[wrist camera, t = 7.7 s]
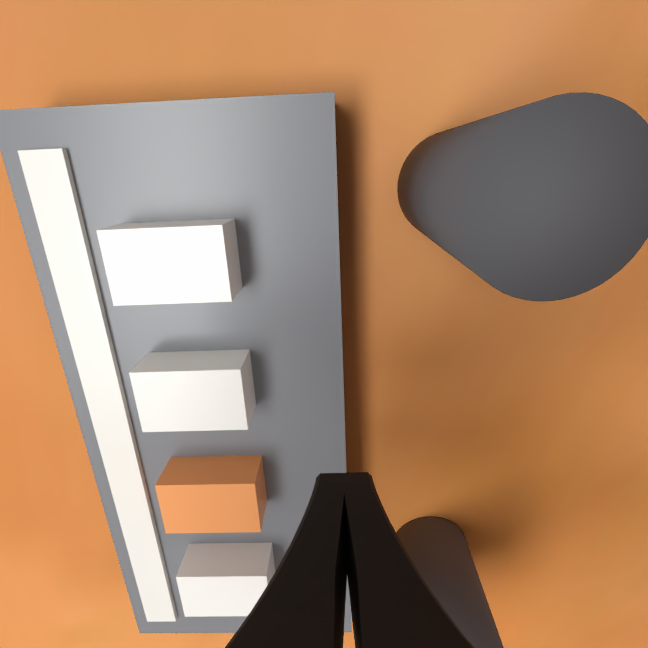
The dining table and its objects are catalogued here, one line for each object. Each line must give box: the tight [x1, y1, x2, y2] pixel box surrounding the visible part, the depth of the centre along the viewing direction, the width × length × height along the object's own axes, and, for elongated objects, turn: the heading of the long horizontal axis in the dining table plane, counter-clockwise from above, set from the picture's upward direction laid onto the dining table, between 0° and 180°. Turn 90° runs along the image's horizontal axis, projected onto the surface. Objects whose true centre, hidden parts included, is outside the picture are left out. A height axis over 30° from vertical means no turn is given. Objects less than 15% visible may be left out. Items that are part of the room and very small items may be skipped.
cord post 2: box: [397, 93, 648, 301], centre depth 10 cm, size 3×3×7 cm
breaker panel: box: [0, 92, 351, 633], centre depth 15 cm, size 20×9×3 cm, turn 3°
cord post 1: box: [396, 517, 503, 648], centre depth 15 cm, size 3×3×7 cm
